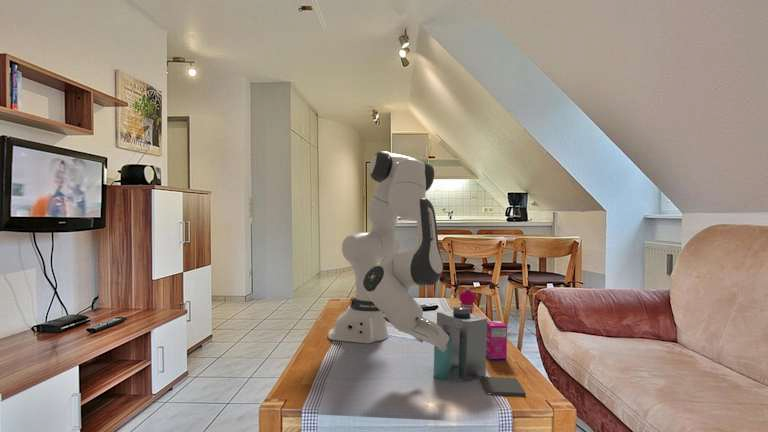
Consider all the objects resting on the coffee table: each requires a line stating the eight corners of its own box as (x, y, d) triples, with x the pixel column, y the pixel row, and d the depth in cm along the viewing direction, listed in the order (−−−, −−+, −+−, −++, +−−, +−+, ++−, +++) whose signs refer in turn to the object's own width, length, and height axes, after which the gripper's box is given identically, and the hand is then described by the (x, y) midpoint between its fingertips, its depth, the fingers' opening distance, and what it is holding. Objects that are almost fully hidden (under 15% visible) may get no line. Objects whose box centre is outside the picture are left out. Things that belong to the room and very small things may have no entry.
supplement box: (483, 354, 147) (484, 320, 147) (500, 354, 148) (501, 320, 148) (489, 360, 142) (490, 325, 141) (507, 360, 142) (508, 325, 142)
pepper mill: (474, 337, 166) (476, 284, 166) (477, 343, 159) (478, 288, 158) (455, 336, 167) (457, 284, 166) (456, 342, 160) (458, 287, 159)
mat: (487, 394, 116) (487, 391, 116) (480, 379, 126) (480, 376, 126) (525, 395, 116) (525, 392, 116) (516, 380, 126) (516, 378, 126)
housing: (465, 381, 124) (467, 315, 123) (435, 367, 135) (437, 305, 134) (485, 376, 129) (487, 311, 128) (454, 362, 139) (456, 302, 139)
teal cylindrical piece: (433, 379, 125) (435, 335, 125) (432, 372, 130) (434, 330, 130) (451, 380, 125) (453, 336, 125) (449, 373, 130) (451, 331, 130)
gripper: (437, 313, 112) (464, 345, 118) (391, 298, 129) (416, 327, 135) (423, 333, 109) (451, 365, 115) (378, 315, 126) (404, 343, 132)
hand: (432, 344), depth 125 cm, fingers open, 8 cm apart
